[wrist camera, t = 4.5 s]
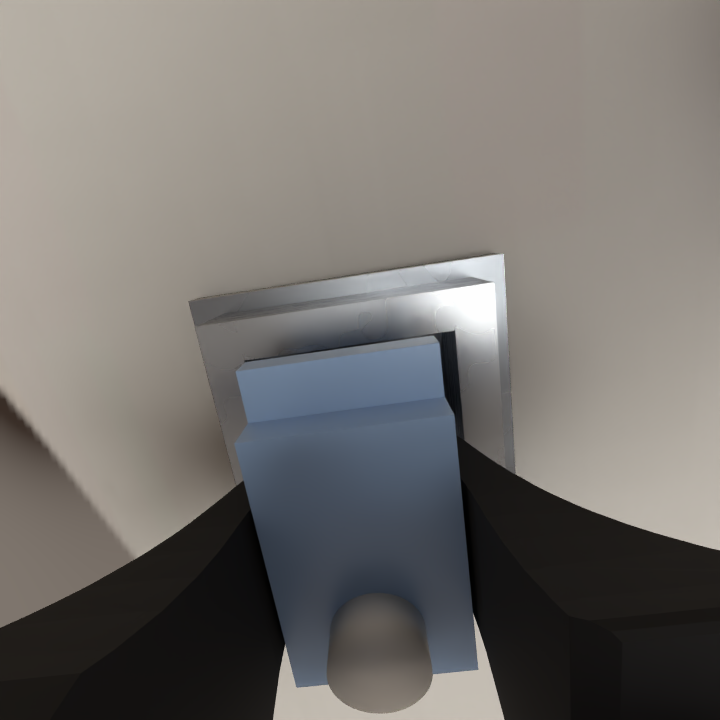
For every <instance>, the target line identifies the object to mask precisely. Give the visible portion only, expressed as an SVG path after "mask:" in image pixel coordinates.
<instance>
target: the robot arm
mask: <svg viewBox="0 0 720 720" xmlns="http://www.w3.org/2000/svg"><path fill="white" fill-rule="evenodd" d="M456 438H457V449H458V459H459V470H460V481H461V491H462V502H463V513H464V523H465V534H466V545H467V555H468V566H469V577H470V587H471V598H472V609H473V614H474V617H475V619H476V622H477V625H478V628H479V630H480V633H481V637H482V640H483V643H484V646H485V649H486V652H487V656H488V659H489V663H490V667H491V671H492V674H493V678H494V682H495V685H496V689H497V693H498V696H499V700H500V704H501V708H502V712H503V715H504V719H505V720H720V550H715V549H711V548H707V547H703V546H699V545H695V544H692V543H688V542H685V541H681V540H678V539H674V538H670V537H667V536H663V535H660V534H656V533H653V532H650V531H647V530H643V529H640V528H637V527H634V526H631V525H628V524H625V523H622V522H620V521H617V520H614V519H611V518H609V517H606V516H603V515H600V514H597V513H595V512H592V511H590V510H587V509H585V508H582V507H580V506H577V505H575V504H573V503H571V502H568V501H566V500H564V499H562V498H560V497H557V496H555V495H553V494H551V493H549V492H547V491H545V490H543V489H541V488H539V487H537V486H535V485H533V484H531V483H530V482H528V481H526V480H524V479H522V478H521V477H519V476H517V475H515V474H514V473H512V472H510V471H509V470H507V469H505V468H504V467H502V466H501V465H499V464H497V463H496V462H494V461H493V460H491V459H490V458H488V457H487V456H486V455H484V454H483V453H481V452H480V451H478V450H477V449H476V448H474V447H473V446H471V445H470V444H469V443H467V442H466V441H464V440H463V439H462V438H460V437H459V436H457V435H456ZM284 647H285V640H284V636H283V632H282V629H281V625H280V621H279V617H278V613H277V609H276V605H275V601H274V597H273V593H272V589H271V586H270V582H269V578H268V574H267V570H266V566H265V562H264V558H263V554H262V550H261V547H260V543H259V539H258V535H257V531H256V527H255V523H254V519H253V515H252V511H251V507H250V504H249V500H248V496H247V492H246V488H245V484H244V480H243V481H242V482H241V483H239V484H238V485H237V486H236V487H235V488H233V489H232V490H231V491H230V492H229V493H228V494H226V495H225V496H224V497H223V498H222V499H220V500H219V501H218V502H217V503H215V504H214V505H213V506H211V507H210V508H209V509H208V510H206V511H205V512H204V513H202V514H201V515H200V516H199V517H197V518H196V519H195V520H193V521H192V522H191V523H189V524H188V525H187V526H185V527H184V528H183V529H181V530H180V531H178V532H177V533H175V534H174V535H173V536H171V537H170V538H168V539H167V540H165V541H164V542H162V543H160V544H159V545H157V546H156V547H154V548H153V549H151V550H150V551H148V552H147V553H145V554H143V555H142V556H140V557H138V558H137V559H135V560H133V561H131V562H130V563H128V564H126V565H125V566H123V567H121V568H119V569H117V570H116V571H114V572H112V573H110V574H109V575H107V576H105V577H103V578H102V579H100V580H98V581H96V582H94V583H93V584H91V585H89V586H87V587H85V588H83V589H81V590H79V591H77V592H75V593H73V594H71V595H70V596H67V597H65V598H63V599H61V600H59V601H57V602H55V603H53V604H51V605H49V606H47V607H45V608H43V609H41V610H39V611H36V612H34V613H32V614H30V615H28V616H26V617H24V618H21V619H19V620H17V621H15V622H12V623H10V624H8V625H6V626H4V627H1V628H0V720H273V714H274V707H275V700H276V693H277V686H278V678H279V672H280V667H281V662H282V656H283V651H284Z"/></svg>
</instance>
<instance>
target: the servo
mask: <svg viewBox="0 0 720 720" xmlns="http://www.w3.org/2000/svg"><path fill="white" fill-rule="evenodd" d="M236 376H237V380H238V384H239V388H240V392H241V396H242V401H243V405H244V409H245V413H246V417H247V421H248V424H247V425H246V427H245V428H244V430H243V431H242V433H241V434H240V436H239V437H238V439H237V440H236V442H235V443H234V445H235V449H236V453H237V457H238V461H239V464H240V468H241V472H242V476H243V480H244V484H245V488H246V492H247V496H248V500H249V504H250V507H251V511H252V515H253V519H254V523H255V527H256V531H257V535H258V539H259V543H260V547H261V550H262V554H263V558H264V562H265V566H266V570H267V574H268V578H269V582H270V586H271V589H272V593H273V597H274V601H275V605H276V609H277V613H278V617H279V621H280V625H281V629H282V632H283V636H284V640H285V644H286V648H287V652H288V656H289V660H290V664H291V668H292V672H293V675H294V679H295V683H296V687H308V686H318V685H328V684H329V686H330V688H331V690H332V692H333V693H334V694H335V695H336V697H337V698H338V699H340V700H341V701H342V702H343V703H345V704H346V705H348V706H350V707H352V708H354V709H357V710H360V711H364V712H369V713H391V712H396V711H400V710H403V709H405V708H407V707H410V706H411V705H413V704H415V703H416V702H417V701H419V700H420V699H421V698H422V697H423V696H424V695H425V694H426V692H427V691H428V689H429V687H430V685H431V682H432V676H433V674H440V673H450V672H460V671H470V670H478V662H477V651H476V641H475V630H474V619H473V609H472V598H471V587H470V577H469V566H468V555H467V545H466V534H465V523H464V513H463V502H462V491H461V481H460V470H459V459H458V449H457V438H456V428H455V417H454V413H453V411H452V409H451V408H450V406H449V404H448V402H447V400H446V398H445V395H444V385H443V375H442V365H441V355H440V345H439V342H438V340H437V339H436V338H435V337H434V335H433V336H426V337H419V338H412V339H405V340H398V341H391V342H384V343H377V344H370V345H363V346H356V347H349V348H342V349H335V350H328V351H321V352H314V353H307V354H300V355H293V356H286V357H279V358H272V359H265V360H258V361H251V362H245V363H244V364H243V365H242V366H241V367H240V368H239V369H238V370H237V371H236Z"/></svg>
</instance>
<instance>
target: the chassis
mask: <svg viewBox="0 0 720 720" xmlns="http://www.w3.org/2000/svg"><path fill="white" fill-rule="evenodd" d="M189 305H190V309H191V313H192V316H193V320H194V324H195V330H196V334H197V338H198V341H199V345H200V349H201V353H202V357H203V360H204V364H205V368H206V372H207V376H208V380H209V383H210V387H211V391H212V395H213V399H214V402H215V406H216V410H217V414H218V418H219V422H220V425H221V429H222V433H223V437H224V441H225V444H226V448H227V452H228V456H229V460H230V463H231V467H232V471H233V475H234V479H235V483H236V486H237V485H238V484H239V483H241V482H242V481H243V476H242V472H241V468H240V464H239V461H238V457H237V453H236V449H235V445H234V443H235V442H236V440H237V439H238V437H239V436H240V434H241V433H242V431H243V430H244V428H245V427H246V425H247V424H248V421H247V417H246V413H245V409H244V405H243V401H242V396H241V392H240V388H239V384H238V380H237V376H236V371H237V370H238V369H239V368H240V367H241V366H242V365H243V364H244V363H245V362H251V361H258V360H265V359H272V358H279V357H286V356H293V355H300V354H307V353H314V352H321V351H328V350H335V349H342V348H349V347H356V346H363V345H370V344H377V343H384V342H391V341H398V340H405V339H412V338H419V337H426V336H433V335H434V337H435V338H436V339H437V340H438V342H439V345H440V355H441V365H442V375H443V385H444V395H445V398H446V400H447V402H448V404H449V406H450V408H451V409H452V411H453V413H454V417H455V428H456V435H457V436H459V437H460V438H462V439H463V440H464V441H466V442H467V443H469V444H470V445H471V446H473V447H474V448H476V449H477V450H478V451H480V452H481V453H483V454H484V455H486V456H487V457H488V458H490V459H491V460H493V461H494V462H496V463H497V464H499V465H501V466H502V467H504V468H505V469H507V470H509V471H510V472H512V473H514V474H515V459H514V440H513V421H512V402H511V383H510V364H509V346H508V327H507V308H506V289H505V270H504V254H499V253H494V254H487V255H481V256H474V257H467V258H461V259H454V260H448V261H441V262H435V263H428V264H421V265H415V266H408V267H402V268H395V269H388V270H382V271H375V272H369V273H362V274H356V275H349V276H342V277H336V278H329V279H323V280H316V281H309V282H303V283H296V284H290V285H283V286H277V287H270V288H263V289H257V290H250V291H244V292H237V293H230V294H224V295H217V296H211V297H204V298H199V299H195V300H192V301H189Z"/></svg>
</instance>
